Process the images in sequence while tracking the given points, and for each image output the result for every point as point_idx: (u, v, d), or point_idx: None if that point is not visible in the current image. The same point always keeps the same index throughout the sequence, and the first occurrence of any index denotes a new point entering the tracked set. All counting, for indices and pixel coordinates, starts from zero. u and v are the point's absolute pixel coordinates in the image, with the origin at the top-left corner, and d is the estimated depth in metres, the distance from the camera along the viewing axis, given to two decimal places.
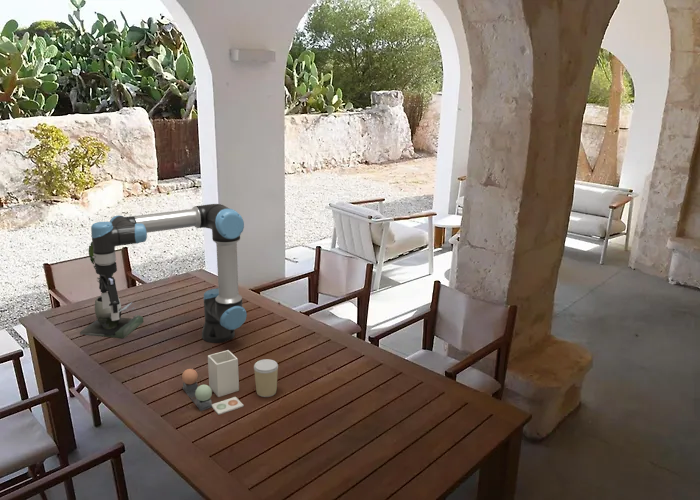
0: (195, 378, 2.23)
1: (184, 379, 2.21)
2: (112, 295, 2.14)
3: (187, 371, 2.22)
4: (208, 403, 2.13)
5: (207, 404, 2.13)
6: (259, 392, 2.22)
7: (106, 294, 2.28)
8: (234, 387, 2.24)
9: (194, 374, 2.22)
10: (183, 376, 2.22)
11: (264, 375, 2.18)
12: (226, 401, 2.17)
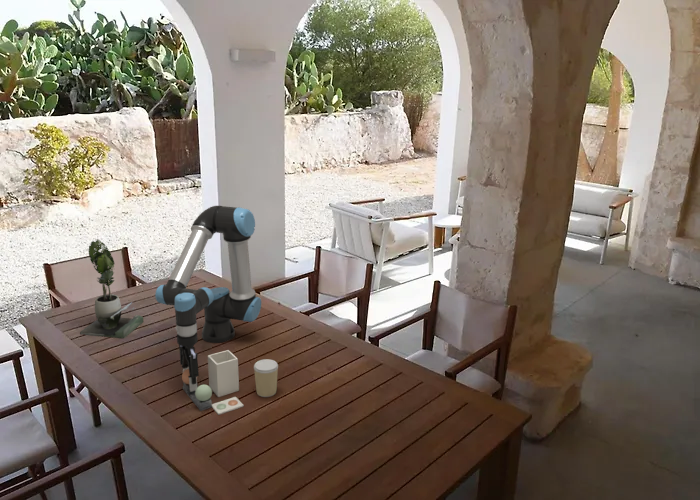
0: None
1: (184, 379, 2.21)
2: (193, 369, 2.17)
3: (187, 371, 2.22)
4: (208, 403, 2.13)
5: (207, 404, 2.13)
6: (259, 392, 2.22)
7: None
8: (234, 387, 2.24)
9: None
10: (183, 376, 2.22)
11: (264, 375, 2.18)
12: (226, 401, 2.17)
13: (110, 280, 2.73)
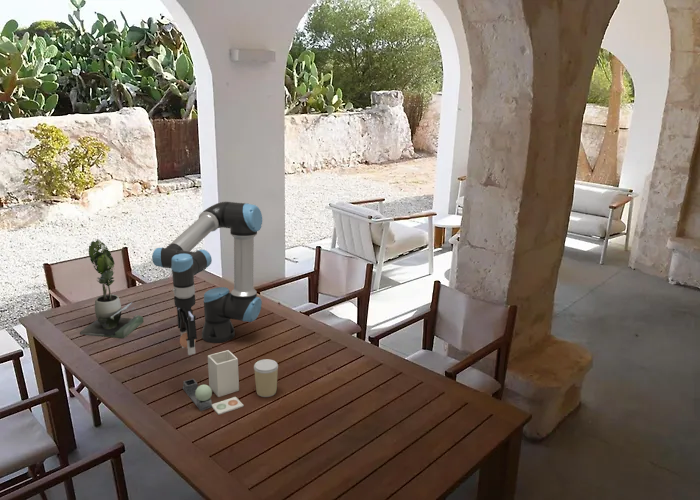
0: None
1: (182, 343, 2.17)
2: (191, 331, 2.12)
3: (185, 334, 2.18)
4: (208, 403, 2.13)
5: (207, 404, 2.13)
6: (259, 392, 2.22)
7: None
8: (234, 387, 2.24)
9: None
10: (181, 339, 2.17)
11: (264, 375, 2.18)
12: (226, 401, 2.17)
13: (110, 280, 2.73)
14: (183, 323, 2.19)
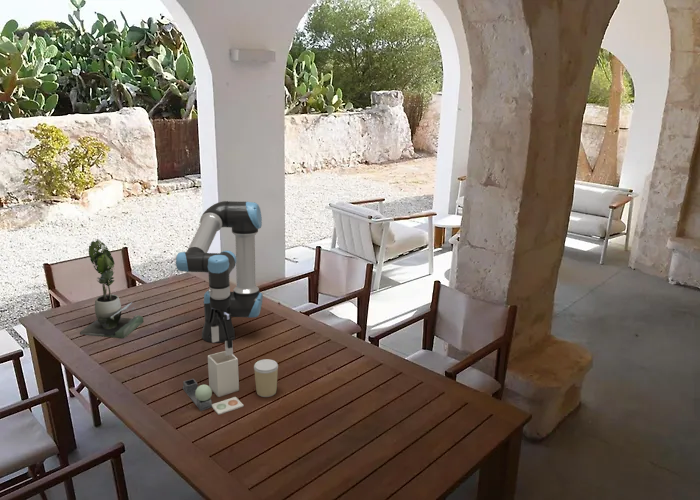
0: None
1: None
2: (228, 330, 2.11)
3: None
4: (208, 403, 2.13)
5: (207, 404, 2.13)
6: (259, 392, 2.22)
7: (216, 328, 2.24)
8: (234, 387, 2.24)
9: None
10: None
11: (264, 375, 2.18)
12: (226, 401, 2.17)
13: (110, 280, 2.73)
14: (215, 320, 2.21)
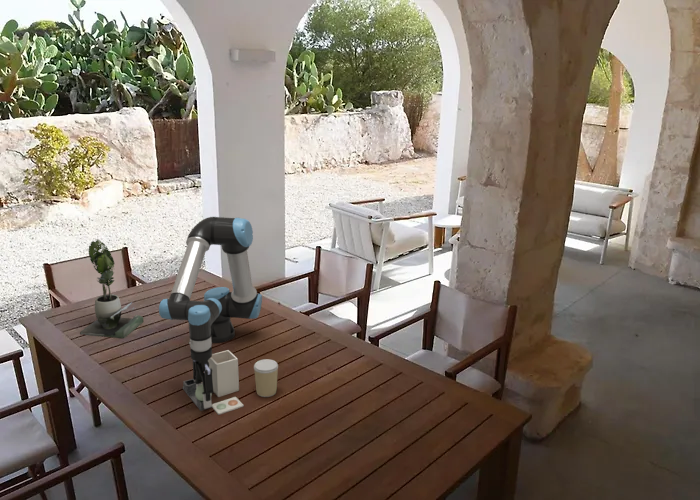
0: None
1: None
2: (207, 385, 2.06)
3: None
4: None
5: None
6: (259, 392, 2.22)
7: None
8: (234, 387, 2.24)
9: None
10: None
11: (264, 375, 2.18)
12: (226, 401, 2.17)
13: (110, 280, 2.73)
14: (199, 375, 2.13)
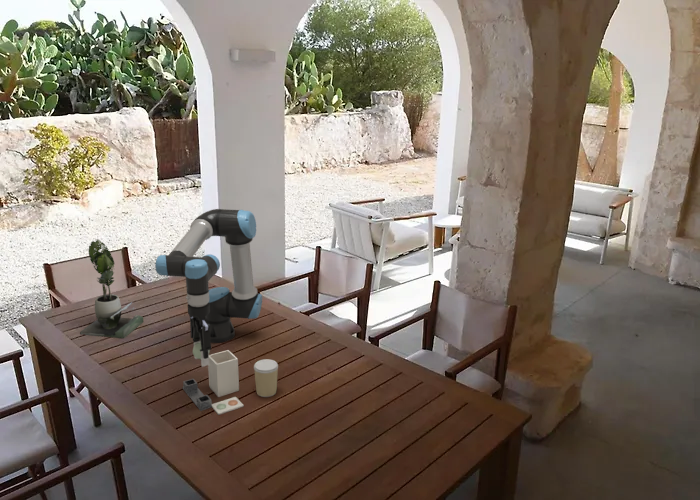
0: None
1: None
2: (205, 341, 2.01)
3: None
4: (208, 403, 2.13)
5: (207, 404, 2.13)
6: (259, 392, 2.22)
7: None
8: (234, 387, 2.24)
9: None
10: None
11: (264, 375, 2.18)
12: (226, 401, 2.17)
13: (110, 280, 2.73)
14: (196, 333, 2.08)
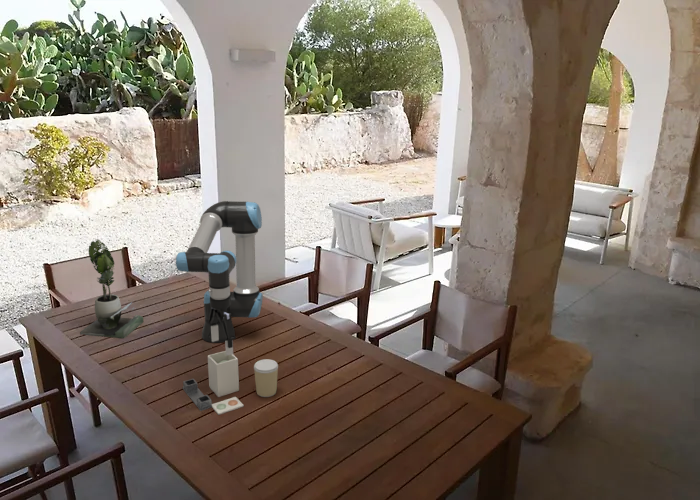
0: None
1: None
2: (229, 330, 2.11)
3: None
4: (208, 403, 2.13)
5: (207, 404, 2.13)
6: (259, 392, 2.22)
7: (215, 327, 2.24)
8: (234, 387, 2.24)
9: None
10: None
11: (264, 375, 2.18)
12: (226, 401, 2.17)
13: (110, 280, 2.73)
14: (215, 320, 2.22)
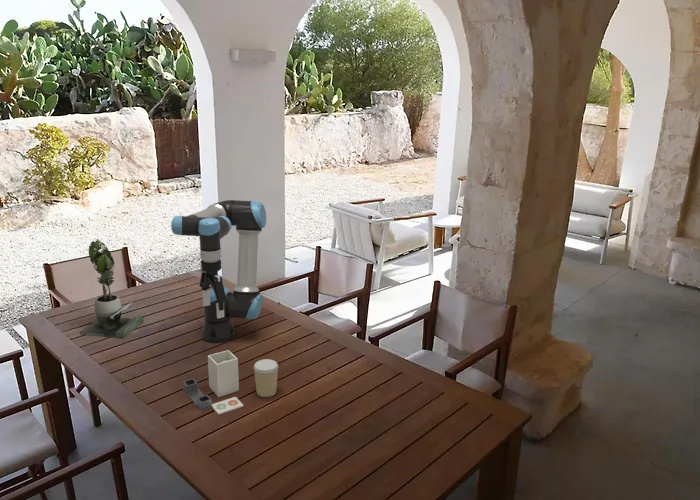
0: None
1: None
2: (219, 292, 2.12)
3: None
4: (208, 403, 2.13)
5: (207, 404, 2.13)
6: (259, 392, 2.22)
7: (207, 291, 2.26)
8: (234, 387, 2.24)
9: None
10: None
11: (264, 375, 2.18)
12: (226, 401, 2.17)
13: (110, 280, 2.73)
14: (206, 284, 2.23)
